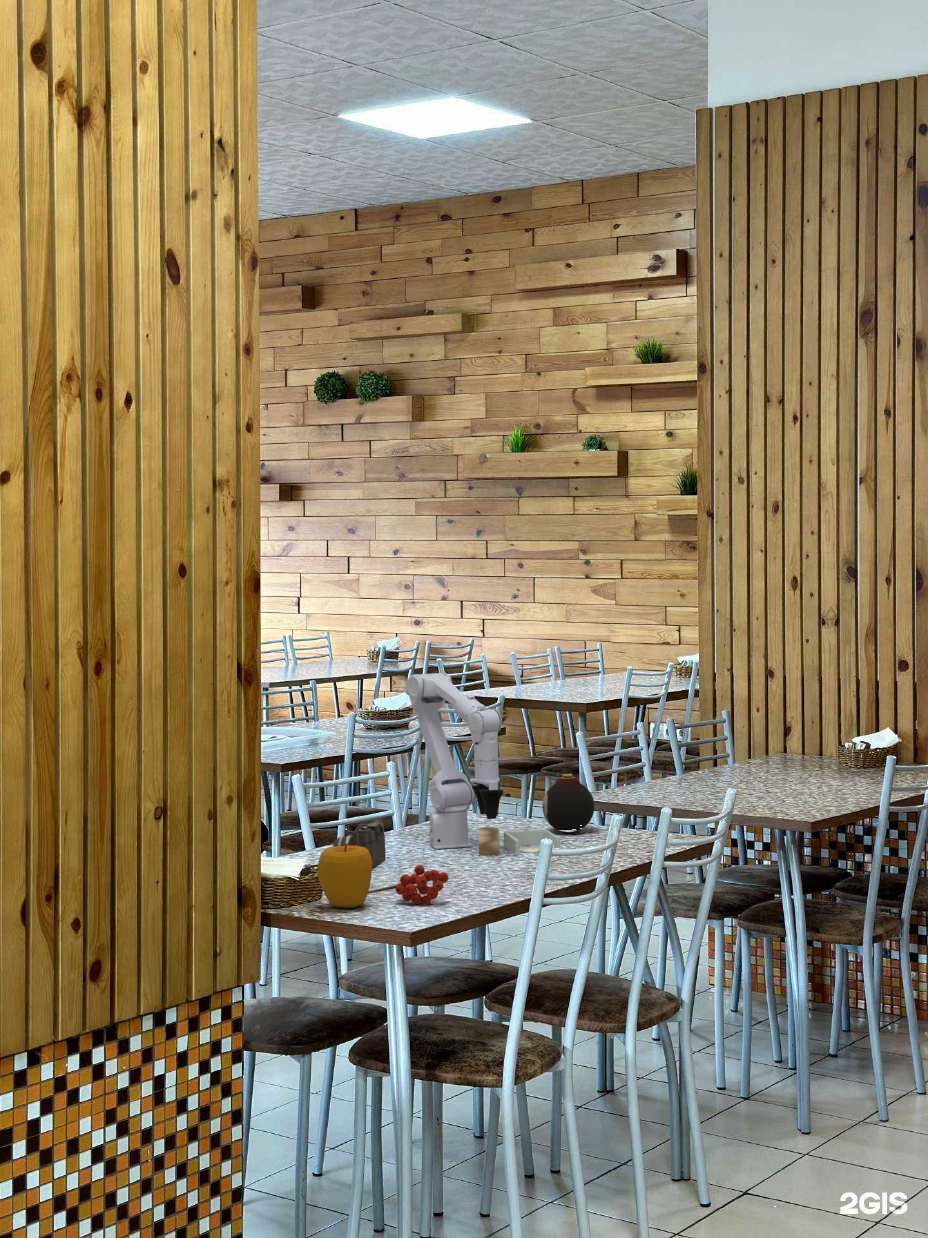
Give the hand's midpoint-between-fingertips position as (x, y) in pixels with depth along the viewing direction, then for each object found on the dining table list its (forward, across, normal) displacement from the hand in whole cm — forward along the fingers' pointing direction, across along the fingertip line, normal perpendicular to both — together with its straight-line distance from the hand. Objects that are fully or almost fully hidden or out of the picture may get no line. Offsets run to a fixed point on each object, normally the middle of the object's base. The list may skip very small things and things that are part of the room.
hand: (488, 816), depth 349 cm
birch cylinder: (+9, 0, 0) cm, 9 cm away
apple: (+9, +47, -40) cm, 62 cm away
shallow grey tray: (+9, -2, +11) cm, 14 cm away
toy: (+9, -22, +26) cm, 35 cm away
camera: (+9, +2, -32) cm, 33 cm away
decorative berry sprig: (+10, +36, -23) cm, 44 cm away
